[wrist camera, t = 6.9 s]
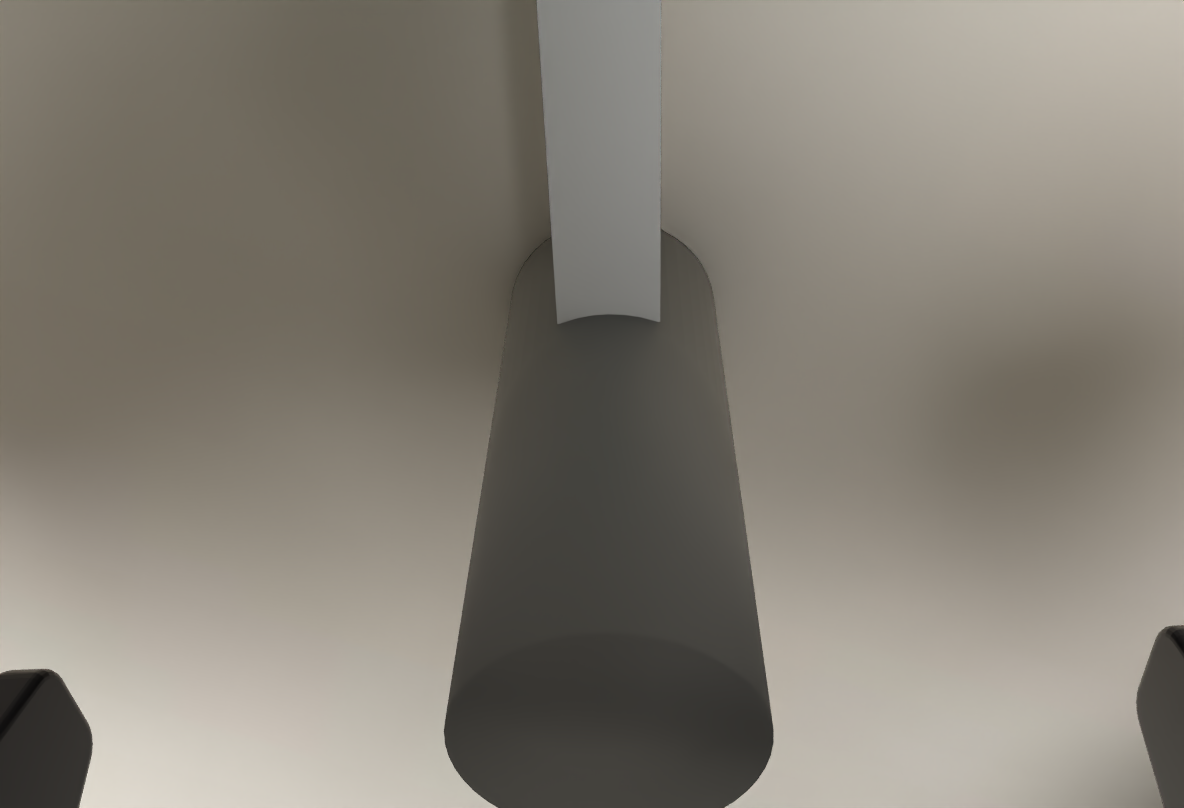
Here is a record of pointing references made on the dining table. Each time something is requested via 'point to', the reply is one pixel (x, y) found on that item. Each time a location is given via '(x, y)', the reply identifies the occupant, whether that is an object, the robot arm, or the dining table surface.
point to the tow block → (609, 481)
